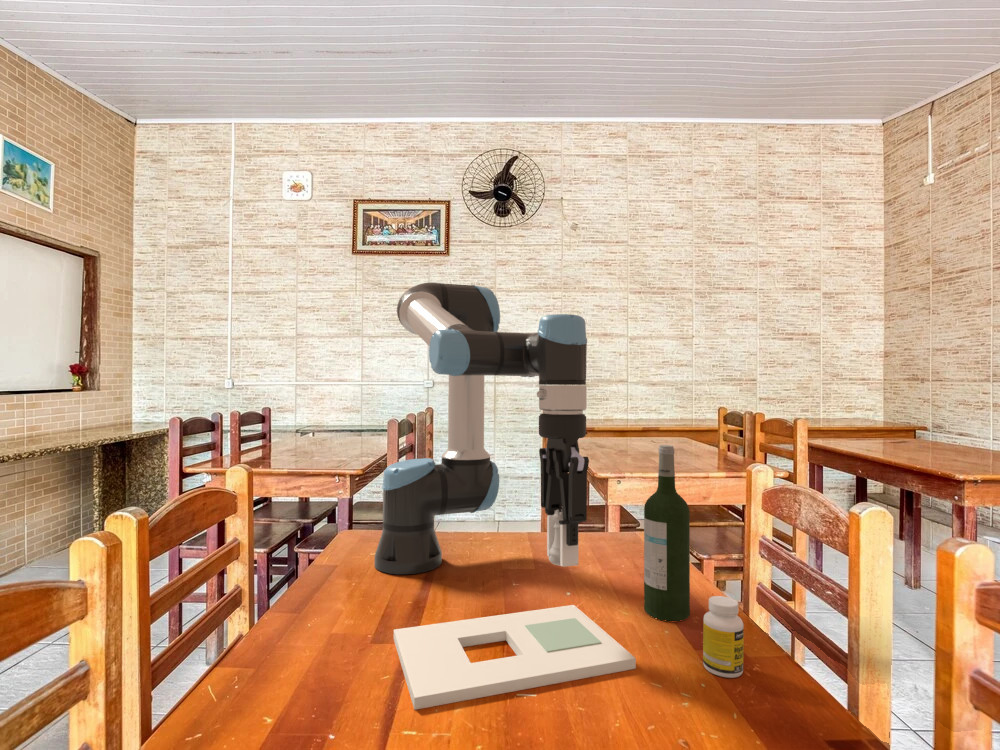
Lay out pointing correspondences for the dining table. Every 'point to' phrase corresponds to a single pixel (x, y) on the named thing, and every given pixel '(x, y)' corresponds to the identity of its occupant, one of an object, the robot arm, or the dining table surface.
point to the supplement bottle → (723, 638)
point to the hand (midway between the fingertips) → (562, 559)
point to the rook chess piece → (556, 539)
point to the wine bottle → (666, 546)
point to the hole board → (533, 637)
